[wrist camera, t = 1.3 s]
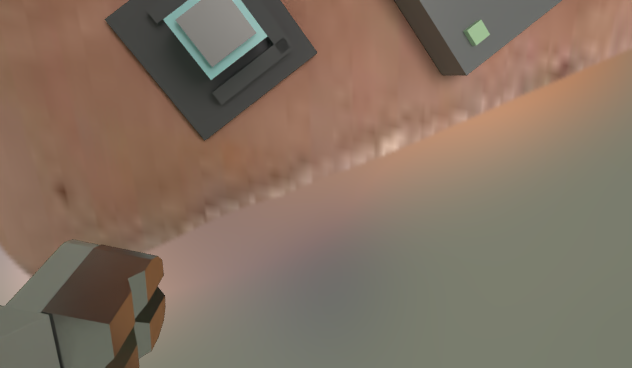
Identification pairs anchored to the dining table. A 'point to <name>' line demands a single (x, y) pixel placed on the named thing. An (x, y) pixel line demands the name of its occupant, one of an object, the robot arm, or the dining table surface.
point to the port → (469, 28)
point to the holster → (188, 77)
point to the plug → (215, 32)
